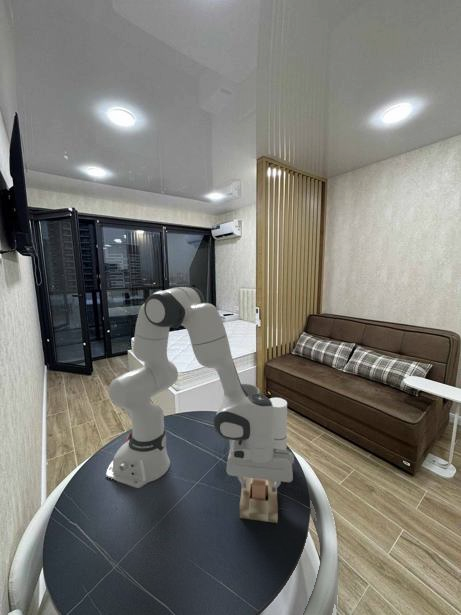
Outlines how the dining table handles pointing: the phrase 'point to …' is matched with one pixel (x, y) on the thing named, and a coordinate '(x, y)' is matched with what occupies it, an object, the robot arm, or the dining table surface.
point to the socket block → (259, 503)
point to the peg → (258, 489)
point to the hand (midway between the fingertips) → (259, 488)
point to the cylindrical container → (280, 423)
